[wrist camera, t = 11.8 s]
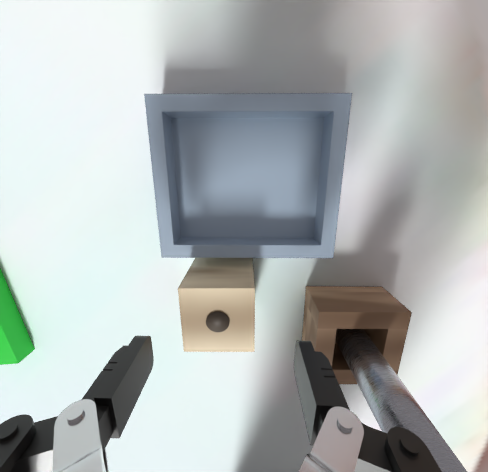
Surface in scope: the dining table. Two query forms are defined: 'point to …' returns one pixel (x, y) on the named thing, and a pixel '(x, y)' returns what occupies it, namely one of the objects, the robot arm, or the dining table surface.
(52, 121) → the dining table surface
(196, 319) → the block
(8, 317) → the mechanical part
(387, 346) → the wooden square socket
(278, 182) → the tray
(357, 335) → the rod
